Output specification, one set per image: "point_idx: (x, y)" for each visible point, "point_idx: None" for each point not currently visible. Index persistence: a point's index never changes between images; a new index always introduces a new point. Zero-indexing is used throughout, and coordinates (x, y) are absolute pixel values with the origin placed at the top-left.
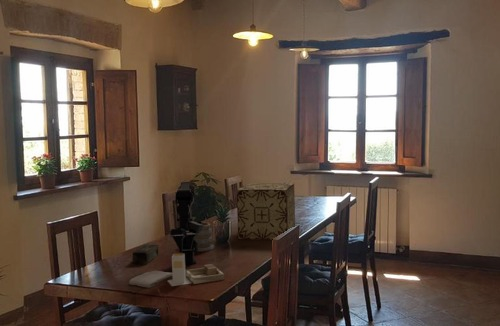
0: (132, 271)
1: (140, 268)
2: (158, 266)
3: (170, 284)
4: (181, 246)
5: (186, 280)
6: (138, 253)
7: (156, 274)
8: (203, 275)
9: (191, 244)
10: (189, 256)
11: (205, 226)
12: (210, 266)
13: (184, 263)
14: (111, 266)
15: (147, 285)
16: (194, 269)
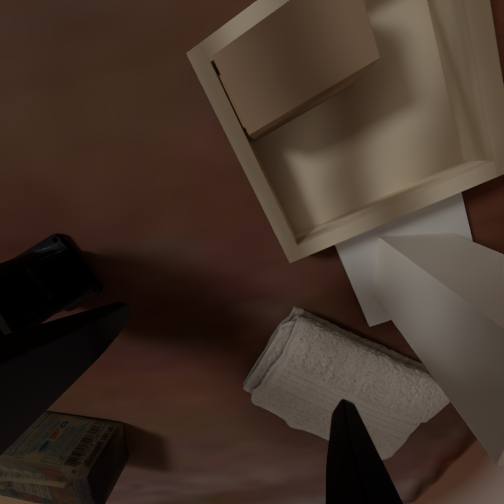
0: (213, 449)
1: (174, 432)
2: (137, 383)
3: None
4: (384, 473)
5: (392, 229)
6: (96, 497)
7: (314, 385)
8: (300, 137)
9: (73, 332)
10: (46, 284)
11: None
12: (297, 53)
13: (494, 287)
14: (164, 499)
15: None
16: (277, 207)
